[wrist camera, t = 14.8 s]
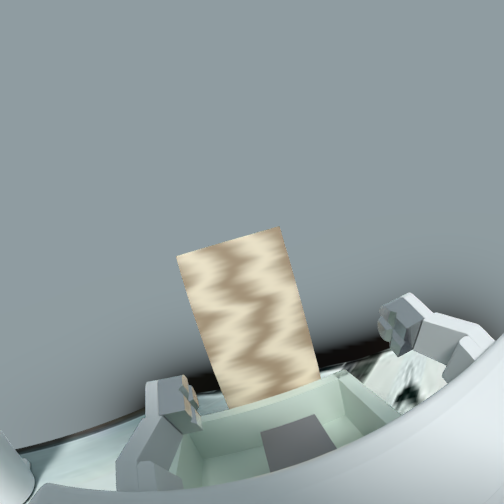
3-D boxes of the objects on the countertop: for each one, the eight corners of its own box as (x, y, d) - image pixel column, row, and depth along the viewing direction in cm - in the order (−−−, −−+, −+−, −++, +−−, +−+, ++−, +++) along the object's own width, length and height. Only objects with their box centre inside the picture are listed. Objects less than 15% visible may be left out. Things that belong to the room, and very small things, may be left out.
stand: (244, 444, 30) (176, 256, 30) (238, 409, 40) (186, 257, 40) (329, 415, 31) (279, 226, 31) (308, 386, 41) (265, 234, 41)
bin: (188, 623, 2) (135, 606, 2) (195, 458, 28) (174, 421, 28) (475, 529, 5) (502, 489, 5) (352, 410, 30) (344, 368, 30)
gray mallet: (312, 585, 6) (300, 573, 6) (272, 461, 24) (260, 432, 24) (392, 554, 7) (397, 535, 7) (322, 444, 25) (314, 413, 25)
